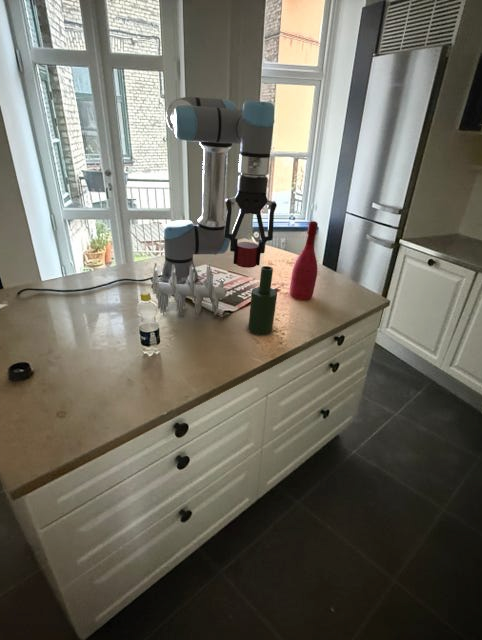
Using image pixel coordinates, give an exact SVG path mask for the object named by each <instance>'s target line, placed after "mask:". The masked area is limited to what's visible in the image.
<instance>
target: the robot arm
mask: <svg viewBox="0 0 482 640" xmlns="http://www.w3.org/2000/svg"><path fill="white" fill-rule="evenodd" d="M165 121H166V124H167V125H168V128H169V129H170V130H171V131H172V132H173V133H174V135H175V138H176V139H177V140H179V141H186V142H199V145H200V146H201V148H202V149H203V161H202V162H203V163H202V165H203V166H202V169H203V170H202V202H201V203H202V204H201V205H202V207H201V216H200V217H199V218H198V219H197V224H194V223H193V221H191V220H187V219H186V220H185V219H178V220H173V221H170V222H168V223H166V224H165V225H164V227H163V236H162V237H163V241H164V242H163V243H164V246H163V247H164V262H163V267H162V270H161V272H160V273H161V274H160V275H159V274H158V279H159V278H161V280H162V281H163V282H164V283H169V279H170V277H171V273H172V264H173V265H175V276H176V284H185V283H186V280H188V275H189V270H190V266H191V264H193V267H194V270H193V273H194V272H195V282H196V281H197V280H198V272H197V269H196V266H195V263H194V255H216V256H217V255H221V254H225V253H226V252H227V251H228V250H230V252H231V253H233V258H232V259H233V262H232V263H233V265H236V257H237V244H238V243H239V242H238V238H237V235H238V232H239V230H240V227H241V225H242V223H243V219H244V218H245V215H250V214H252V215H255V216H256V220H257V225H258V230H259V235H260V239H257V240H258V241H257V245H258V255H257V265H256V266H258V267H259V266H260V263H261V254H265V252H266V243H267V242H269V241H271V242H272V241H273V239H274V221H275V211H276V209H277V207H278V204H277V202H276V200H270V199H268V197H267V190H268V180H269V178H268V177H267V175H269V170H270V160H271V150H272V142H273V132H274V124H275V105H274V104H273V102H271V101H270V102H269V101H258V100H245V101H244V102H243V104H242V108H240V109H237V107H236V104H235V103H234V102H233V101H232V100H228V99H225V98H224V99H223V98H215V97H214V98H211V97H197V96H184V97H180V98H176V99H174V100H173V101H171V102H170V103H169V104H168V105H167V108H166V111H165ZM233 144H236V145H240V146H239V147H240V149H239V161H238V162H239V163H238V173H239V175H238V177H237V178H238V180H237V193H236V195H235V196H234V197H227V198H226V197H225V196H226V184H227V183H226V181H227V180H226V179H227V166H228V152H229V150H231V148H233ZM235 203H236V204H237V206H238V207H239V211H238V215H237V218H236V220H235V222H234V223H235V224H234V226H233V228H232V230H231V220H232V211H233V207H234V206H235ZM225 205H226V216H225V218H224V215H225V214H224V212H225ZM266 205H267V210H268V220H267V234H265V228H264V224H263V217H262V213H261V211H262V210H263V209H264V207H265V206H266ZM150 280H153V276H150V277H147V278H142V279H137V278H136V279H135V278H120V279H115V280H112V281H109V282H106V283H103V284H99V285H95V286H91V287H85V288H77V289H55V288H34V287H33V288H32V287H28V288H27V287H25V288H23V289H21V290H19V291H18V292H17V293H16V295H17V296H18V295H20V294H22V293H23V292H26V291H36V292H56V293H75V292H84V291H90V290H94V289H99V288H103V287H105V286H106V287H107V286H110V285H112V284H115V283H118V282H124V281H127V282H128V281H129V282H146V281H150Z"/></svg>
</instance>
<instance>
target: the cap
mask: <svg viewBox="0 0 482 640" xmlns="http://www.w3.org/2000/svg"><path fill="white" fill-rule="evenodd" d="M257 255H258V243H255V242H252V241H240V242H237V257H236V264H235V265H236V266H237V267H240V268H246V269H250V268H255V267H257V266H258V265H257Z"/></svg>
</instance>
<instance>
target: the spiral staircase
mask: <svg viewBox="0 0 482 640" xmlns="http://www.w3.org/2000/svg"><path fill="white" fill-rule="evenodd" d="M193 270H194V267H193V264H191V266H190V270H189V275H188V280H186V283H185V284H176V276H175V265H173V264H172V273H171V277H170V279H169V283H167V282H159V278H158V276H159V273H158V264H157V262H155V263H154V267H153V275H152V277H153V279H152V294H153V295H155V297H156V299H157V309H158V310H159V313H160V314H162V316H165V313H167V308H169V304H170V299H171V296H173V300H174V301H175V303H176V309H175V310H176V312H178V313H177V314H178V316H181V317H182V316H183V313H184V308H185V307H186V299H187V298H188V297H191V299H193V302H194V308H195V311H196V314H197V317H199V316H200V314H201V310H203V302H204V299H205V298H206V299H209V301H210V303H211V306H212V311H213V315H214V316H213V317H217V315H218V310H219V305H220V300H226V287H224V286H225V285H224V284H225V280H224V279H223V278H220V282H219V284H218V285H217V286H215V285H214V275H213V273H212V272H213V271H212V268H211V265H210V264H209V265H207V266H206V272H205V273H206V274H205V278H204V280H202V281H203V282H202V284H201V285H197V283H196V281H195V272H194V273H193Z"/></svg>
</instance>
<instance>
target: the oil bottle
mask: <svg viewBox="0 0 482 640" xmlns="http://www.w3.org/2000/svg"><path fill="white" fill-rule="evenodd" d="M273 272H274V268H273V267H272V266H269V265H264V266H261V268H260V275H259V276H260V278H259V286H256V287H254V288H252V289H251V296H250V304H249V305H250V307H249V316H248V328H247V329H248V331H249V332H250V333H251V334H253V335H256V336H268V335H270V334H271V333H272V332H273V328H274V322H275V321H274V320H275V314H276V306H277V298H278V292H277V290H276V289H274V288H272V281H273Z"/></svg>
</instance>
